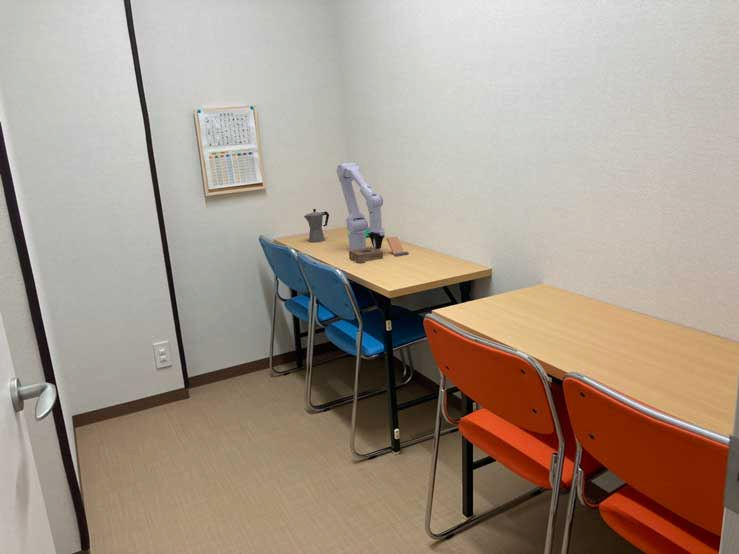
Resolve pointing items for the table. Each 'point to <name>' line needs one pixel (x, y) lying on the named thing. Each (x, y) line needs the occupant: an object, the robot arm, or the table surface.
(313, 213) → the coffeepot
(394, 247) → the latch flap
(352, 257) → the hitch block
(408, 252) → the latch bracket
